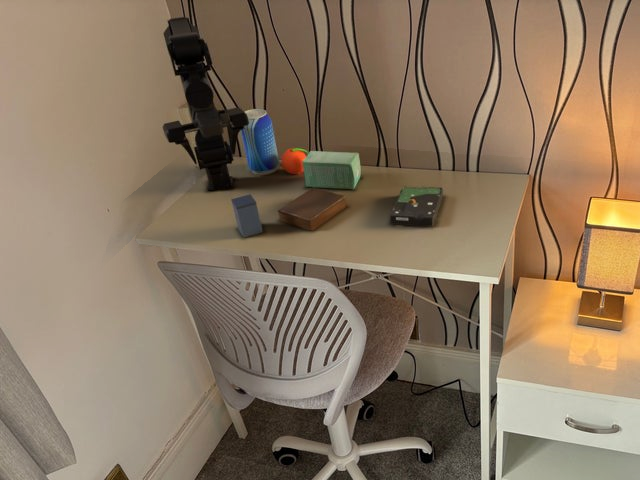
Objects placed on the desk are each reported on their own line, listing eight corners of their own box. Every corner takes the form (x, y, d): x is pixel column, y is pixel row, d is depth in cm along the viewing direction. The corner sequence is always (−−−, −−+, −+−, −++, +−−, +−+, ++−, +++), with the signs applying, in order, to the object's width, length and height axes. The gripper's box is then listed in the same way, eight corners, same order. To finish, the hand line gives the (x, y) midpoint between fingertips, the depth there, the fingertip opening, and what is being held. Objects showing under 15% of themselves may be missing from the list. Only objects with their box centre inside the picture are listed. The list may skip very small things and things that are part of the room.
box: (355, 190, 160) (352, 163, 156) (305, 188, 163) (301, 161, 158) (362, 177, 166) (359, 151, 161) (313, 176, 168) (309, 150, 164)
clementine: (312, 165, 173) (309, 141, 169) (313, 176, 168) (309, 151, 163) (283, 169, 173) (279, 144, 168) (283, 179, 167) (279, 155, 163)
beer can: (270, 177, 169) (259, 120, 159) (244, 174, 171) (231, 118, 162) (285, 164, 175) (275, 108, 165) (259, 161, 177) (248, 106, 168)
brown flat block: (279, 220, 150) (277, 209, 148) (315, 197, 158) (313, 187, 156) (311, 231, 145) (309, 220, 143) (346, 207, 153) (345, 196, 151)
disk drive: (434, 228, 143) (443, 196, 154) (433, 217, 141) (443, 186, 153) (390, 225, 145) (402, 195, 156) (389, 215, 143) (401, 185, 155)
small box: (238, 229, 147) (231, 199, 143) (257, 223, 149) (250, 193, 144) (243, 237, 144) (236, 207, 139) (262, 232, 146) (256, 201, 141)
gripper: (163, 114, 131) (182, 181, 140) (248, 95, 137) (262, 161, 146) (153, 99, 139) (173, 163, 148) (235, 82, 145) (248, 145, 154)
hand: (214, 158), depth 149 cm, fingers open, 9 cm apart
